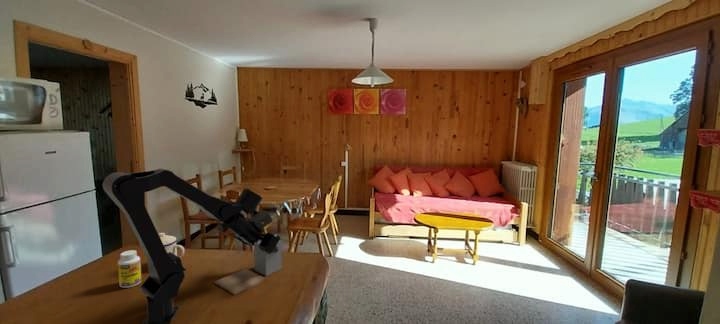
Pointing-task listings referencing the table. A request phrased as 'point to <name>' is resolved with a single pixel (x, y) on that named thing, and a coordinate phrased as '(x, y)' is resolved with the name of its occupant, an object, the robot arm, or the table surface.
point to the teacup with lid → (171, 244)
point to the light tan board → (240, 281)
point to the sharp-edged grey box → (267, 260)
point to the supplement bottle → (129, 269)
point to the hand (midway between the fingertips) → (271, 248)
